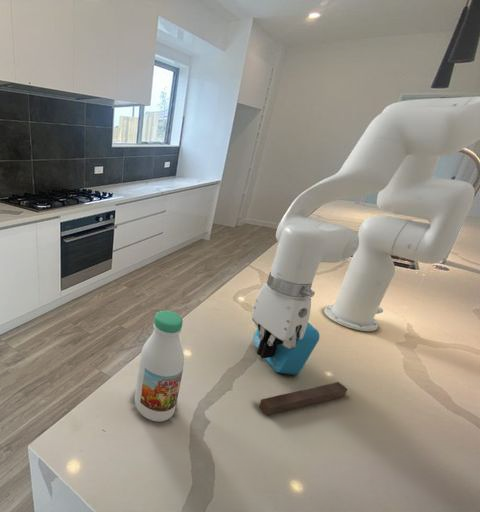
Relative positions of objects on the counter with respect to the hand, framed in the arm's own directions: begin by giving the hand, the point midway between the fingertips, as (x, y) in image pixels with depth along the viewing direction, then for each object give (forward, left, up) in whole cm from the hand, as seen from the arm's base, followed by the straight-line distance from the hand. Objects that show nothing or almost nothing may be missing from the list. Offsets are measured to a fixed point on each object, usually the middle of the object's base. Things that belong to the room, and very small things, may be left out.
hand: (264, 355), depth 68 cm
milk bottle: (+30, +5, -3) cm, 30 cm away
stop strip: (0, +11, -3) cm, 11 cm away
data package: (-4, -1, -3) cm, 5 cm away
